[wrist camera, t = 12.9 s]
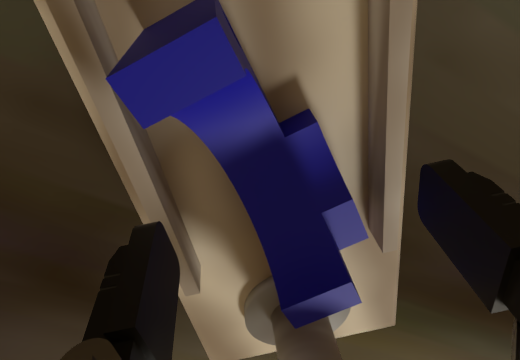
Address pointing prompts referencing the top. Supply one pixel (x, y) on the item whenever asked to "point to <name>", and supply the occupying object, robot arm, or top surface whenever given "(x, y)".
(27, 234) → the top surface
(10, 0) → the top surface
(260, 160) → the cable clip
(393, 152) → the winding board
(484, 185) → the robot arm
